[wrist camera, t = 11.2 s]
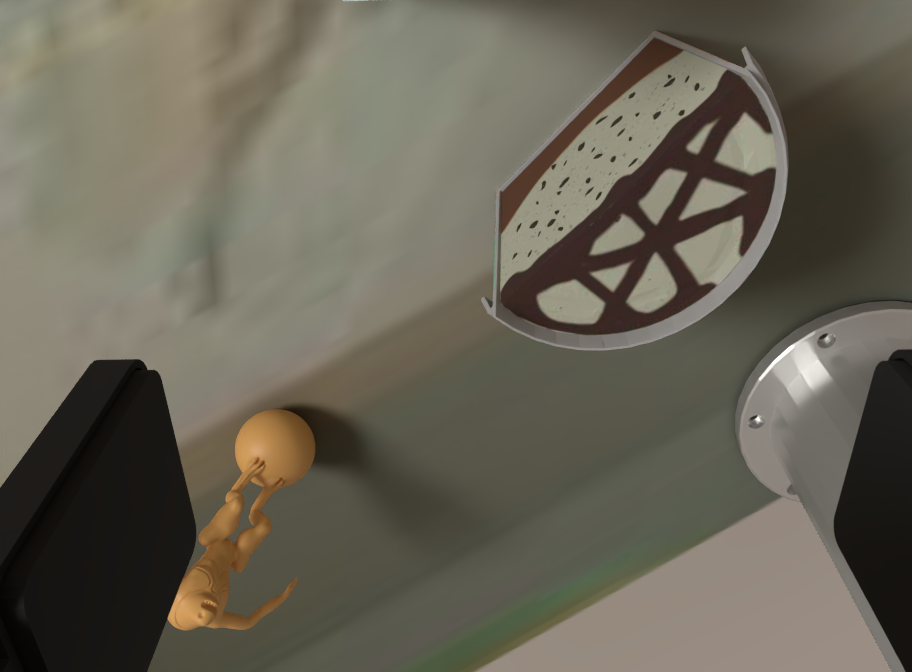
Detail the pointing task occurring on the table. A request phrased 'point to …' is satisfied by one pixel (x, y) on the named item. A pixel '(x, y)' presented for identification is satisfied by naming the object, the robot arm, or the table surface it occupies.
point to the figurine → (271, 466)
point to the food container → (642, 202)
